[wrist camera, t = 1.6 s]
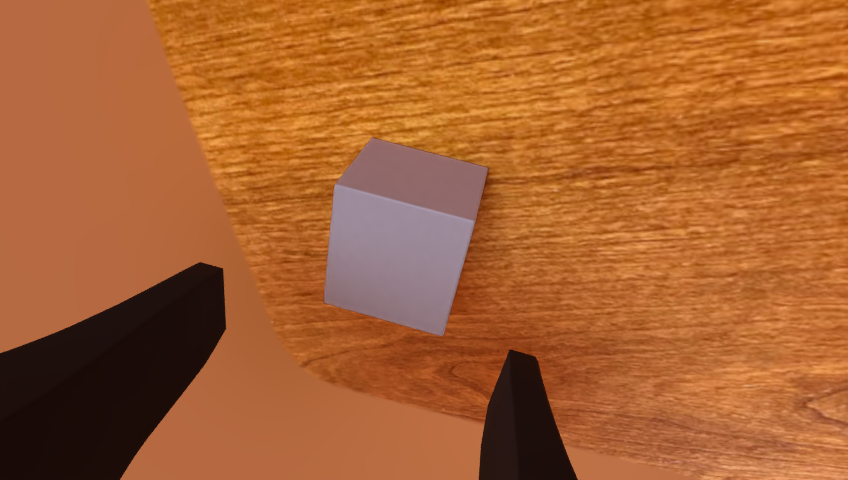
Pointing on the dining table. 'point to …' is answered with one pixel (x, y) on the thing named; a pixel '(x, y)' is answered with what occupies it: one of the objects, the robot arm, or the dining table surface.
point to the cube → (401, 234)
